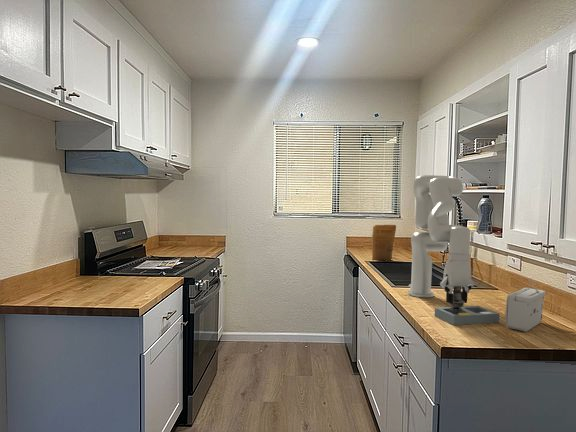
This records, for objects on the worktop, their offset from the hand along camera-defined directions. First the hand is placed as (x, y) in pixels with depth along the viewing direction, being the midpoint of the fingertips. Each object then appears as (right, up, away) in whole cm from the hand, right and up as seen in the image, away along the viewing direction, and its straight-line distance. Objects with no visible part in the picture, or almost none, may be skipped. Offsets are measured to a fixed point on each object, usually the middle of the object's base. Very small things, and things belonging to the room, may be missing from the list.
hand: (456, 302), depth 162 cm
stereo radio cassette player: (+25, -8, -4) cm, 27 cm away
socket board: (+5, -7, +2) cm, 9 cm away
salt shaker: (0, -3, 0) cm, 3 cm away
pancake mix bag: (+6, 0, +152) cm, 152 cm away
